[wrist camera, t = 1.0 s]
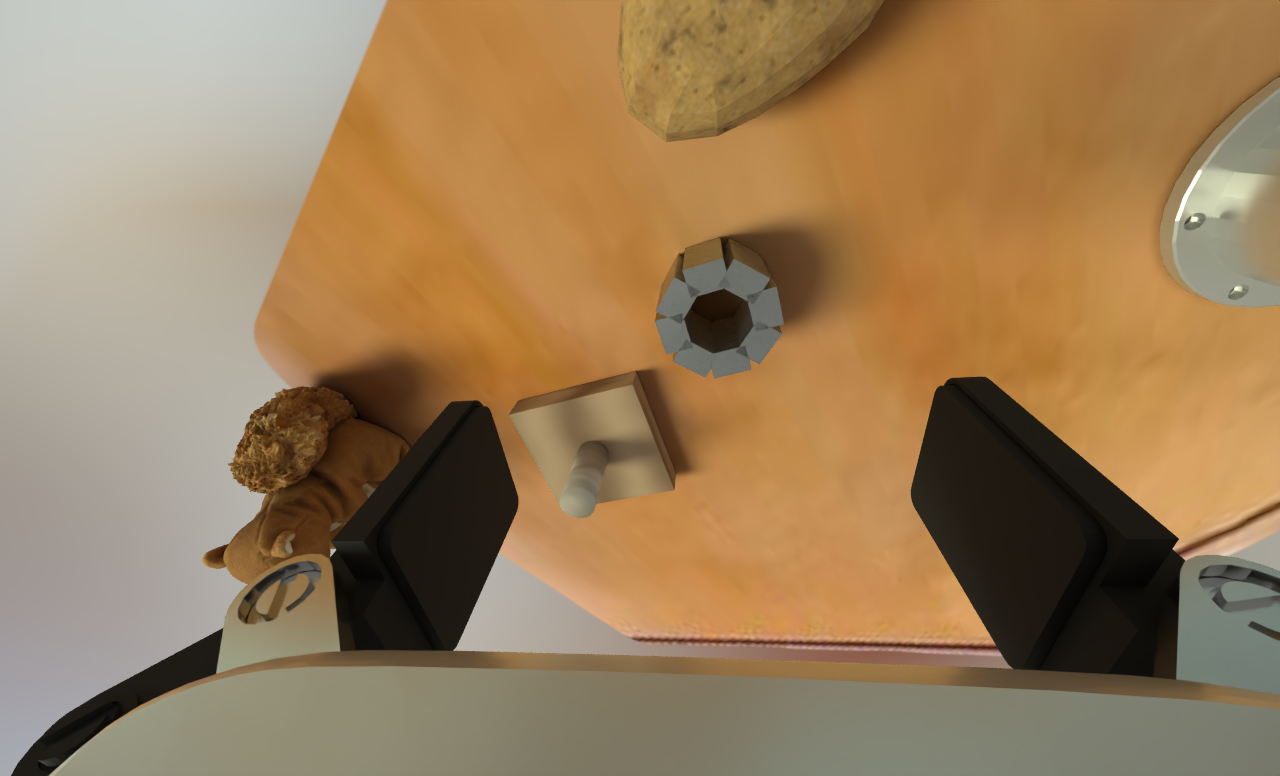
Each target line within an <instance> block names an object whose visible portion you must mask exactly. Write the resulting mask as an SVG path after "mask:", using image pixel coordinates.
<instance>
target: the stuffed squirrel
mask: <svg viewBox="0 0 1280 776" xmlns="http://www.w3.org/2000/svg"><path fill="white" fill-rule="evenodd" d="M275 395H276V398H273V399H271V401H270V402H266V403H265V404H264V406H263V407H261V408H260V409H257V410H255V411H254V412H253V413H254V414H251V416H250V421H249V422H248V423H247V424H246V427H245V433H244V436H243V438H242V440H241V441H240V442H239V444H238V445H237V450H236V452H235V455H236V456H235V458H234V459H233V461H234V462H233V463H230V464H228V465H229V466H231V470H230V471H232V472H233V473H232V474H233V475H234V476H233V478H234V479H237V481H238V483H240V484H242V486H248V488H249V490H250V492H251V491H254V492H256V491H257V492H258V493H267V494H266V496H265V498H264V500H263V503H262V508H261V510H260V512H259V513H258V514H257V515H256V517H255V518H254V519H253V520H252V521H251V522H249V523H248V524H247V525H246V526H245V527H243V528H242V529H241V530H240V531H239V532H238V533H237V534H236V535H235V537H234V538H233V539H232V541H231V542H230V543H229V544H227V545H223V546H221V547H218V548H216V549H213V550H211V551H209V552H207V553H206V554H205V555H204V557H203V559H202V561H203V563H204V564H205V565H206V566H208V567H210V568H216V569H220V568H224V567H227V569H228V571H229V572H230V574H231V575H232V576H233V577H235V578H236V579H238V580H240V581H241V582H244V583H246V584H249V583H250V582H251V581H252V580H253V579H255V578H256V577H258V576H259V575H260V574H262V573H263V572H265V571H266V570H268V569H270V568H271V567H273V566H275V565H277V564H279V563H281V562H283V561H285V560H288V559H291V558H293V557H296V556H301V555H306V554H321V555H323V556H325V557H327V558H330V549H335V547H334V545H333V544H332V542H331V541H332V540H333V538H334V537H335V536H336V535H337V534H338V533H339V531H340V530H341V529H342V528H343V527H344V526H345V524H346V523H347V522H348V521H349V520H350V519H351V517H352V516H353V515H354V514H355V513H356V512H357V511H358V509H359V508H360V507H361V506H362V505H363V504H364V502H365V501H366V500H367V499H368V497H370V495H371V494H372V493H373V492H374V491H375V490H376V488H377V487H378V486H379V485H380V484H381V483H382V481H383V480H384V479H385V478H386V477H387V476H388V475H389V473H390V472H391V471H392V470H393V469H394V468H395V466H396V465H397V464H398V463H399V462H400V461H401V459H402V458H403V457H404V456H405V455H406V454H407V452H408V451H409V450H410V449H411V448H410V446H409V445H408V444H407V443H406V442H405V440H404V439H402V438H401V437H399V436H398V435H396V434H394V433H392V432H390V431H388V430H386V429H384V428H382V427H379V426H377V425H374V424H371V423H368V422H365V421H362V420H359V419H354V418H355V417H357V415H358V414H357V412H356V410H355V409H354V405H352V404H350V403H349V401H348V400H347V399H345V398H344V396H343V395H342V394H341V393H339V392H336V391H332V390H330V389H328V388H326V387H321V388H314V387H311V388H308V387H303V386H301V387H297V388H292V389H289V390H286V389H283V390H282V391H281V392H278V393H275ZM234 473H235V474H234Z"/></svg>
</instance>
